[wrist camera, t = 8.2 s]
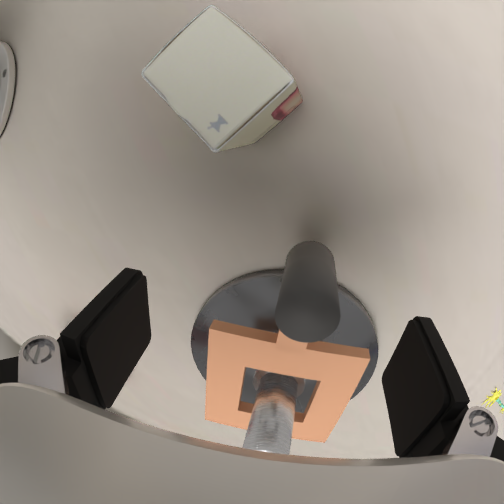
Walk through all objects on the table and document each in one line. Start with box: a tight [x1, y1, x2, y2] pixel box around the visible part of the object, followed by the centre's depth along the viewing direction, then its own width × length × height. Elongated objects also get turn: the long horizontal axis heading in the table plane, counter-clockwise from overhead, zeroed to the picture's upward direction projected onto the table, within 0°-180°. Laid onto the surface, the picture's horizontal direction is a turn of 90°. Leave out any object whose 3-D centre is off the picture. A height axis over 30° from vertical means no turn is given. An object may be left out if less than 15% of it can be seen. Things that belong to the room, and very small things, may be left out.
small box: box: [142, 5, 303, 152], centre depth 13 cm, size 5×4×8 cm
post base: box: [191, 270, 378, 455], centre depth 19 cm, size 15×15×10 cm
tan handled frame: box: [205, 241, 370, 443], centre depth 18 cm, size 19×10×7 cm, turn 173°
